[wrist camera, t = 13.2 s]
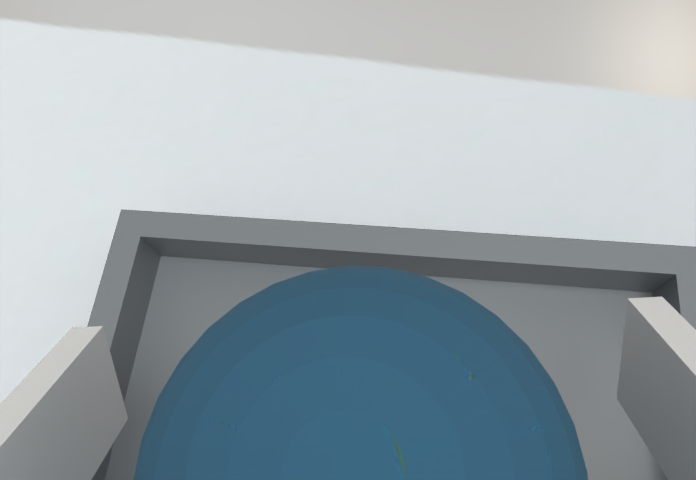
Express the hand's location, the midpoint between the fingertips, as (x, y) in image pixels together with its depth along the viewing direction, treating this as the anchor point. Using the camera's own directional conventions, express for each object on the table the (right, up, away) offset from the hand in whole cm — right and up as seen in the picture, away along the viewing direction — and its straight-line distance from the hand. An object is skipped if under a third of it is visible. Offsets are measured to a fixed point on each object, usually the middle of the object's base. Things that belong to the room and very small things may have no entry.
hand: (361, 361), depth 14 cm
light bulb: (0, -5, +5) cm, 7 cm away
